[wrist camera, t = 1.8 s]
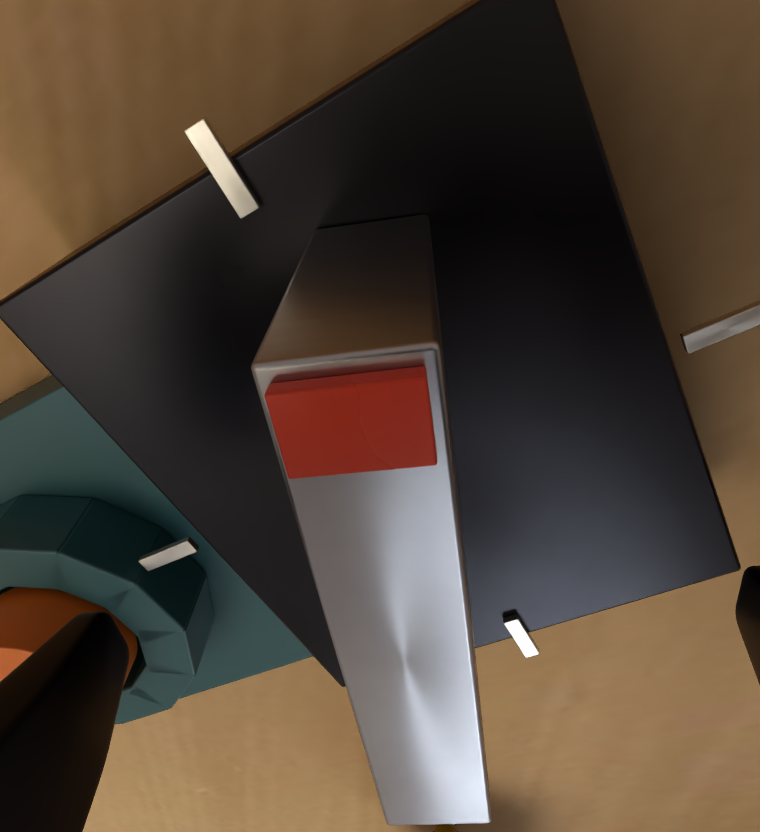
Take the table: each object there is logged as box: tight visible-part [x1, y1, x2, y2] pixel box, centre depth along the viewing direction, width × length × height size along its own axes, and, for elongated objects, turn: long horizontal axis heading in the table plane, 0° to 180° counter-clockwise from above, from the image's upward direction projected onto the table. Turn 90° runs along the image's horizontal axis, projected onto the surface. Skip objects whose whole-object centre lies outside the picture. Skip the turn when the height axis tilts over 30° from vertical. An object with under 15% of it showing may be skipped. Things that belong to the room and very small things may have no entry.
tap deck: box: [0, 0, 760, 687], centre depth 13 cm, size 13×13×3 cm
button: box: [0, 587, 138, 686], centre depth 14 cm, size 4×4×2 cm
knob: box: [251, 214, 492, 825], centre depth 10 cm, size 9×2×5 cm, turn 9°
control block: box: [0, 375, 313, 724], centre depth 16 cm, size 10×8×4 cm
